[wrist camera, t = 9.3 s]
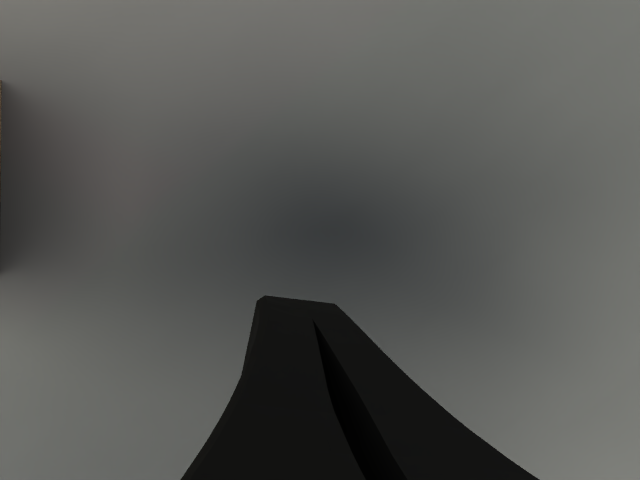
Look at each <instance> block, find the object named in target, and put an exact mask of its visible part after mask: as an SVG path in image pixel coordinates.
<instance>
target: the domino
mask: <svg viewBox="0 0 640 480" xmlns="http://www.w3.org/2000/svg"><path fill="white" fill-rule="evenodd" d="M1 82H2V80H0V200H1Z"/></svg>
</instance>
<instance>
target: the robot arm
mask: <svg viewBox="0 0 640 480" xmlns="http://www.w3.org/2000/svg"><path fill="white" fill-rule="evenodd" d="M181 480H539V479H538V478H536V477H534V476H533V475H531V474H530V473H529V472H527V471H526V470H524V469H523V468H521V467H520V466H518V465H517V464H515V463H514V462H513V461H511V460H510V459H508V458H507V457H506V456H504V455H503V454H502V453H500V452H499V451H497V450H496V449H495V448H493V447H492V446H491V445H489V444H488V443H487V442H485V441H484V440H483V439H481V438H480V437H479V436H477V435H476V434H475V433H473V432H472V431H471V430H469V429H468V428H467V427H466V426H464V425H463V424H462V423H461V422H460V421H458V420H457V419H456V418H455V417H453V416H452V415H451V414H450V413H449V412H448V411H446V410H445V409H444V408H443V407H442V406H441V405H439V404H438V403H437V402H436V401H435V400H434V399H433V398H431V397H430V396H429V395H428V394H427V393H426V392H425V391H423V390H422V389H421V388H420V387H419V386H418V385H417V384H416V383H415V382H414V381H413V380H412V379H410V378H409V377H408V376H407V375H406V374H405V373H404V372H403V371H402V370H401V369H400V368H399V367H398V366H397V365H396V364H395V363H394V362H393V361H392V360H391V359H390V358H389V357H388V356H387V355H386V354H385V353H384V352H383V351H382V350H381V349H380V348H379V347H378V346H377V345H376V344H375V343H374V342H373V341H372V340H371V339H370V338H369V337H368V336H367V335H366V334H365V333H364V332H363V331H362V330H361V329H360V328H359V327H358V326H357V325H356V324H355V323H354V322H353V321H352V320H351V319H350V318H349V317H348V316H347V315H346V314H345V313H344V312H343V311H342V310H341V309H340V308H339V307H338V306H337V305H335V304H332V303H323V302H315V301H306V300H298V299H289V298H281V297H272V296H264V297H262V298H260V299H259V300H257V303H256V308H255V313H254V317H253V322H252V327H251V332H250V337H249V341H248V346H247V351H246V356H245V361H244V365H243V370H242V375H241V378H240V380H239V382H238V384H237V386H236V389H235V391H234V393H233V395H232V397H231V399H230V401H229V403H228V405H227V407H226V409H225V411H224V412H223V414H222V416H221V418H220V420H219V421H218V423H217V425H216V426H215V428H214V430H213V431H212V433H211V435H210V437H209V438H208V440H207V441H206V443H205V444H204V446H203V447H202V449H201V450H200V452H199V453H198V455H197V456H196V458H195V459H194V461H193V462H192V464H191V465H190V467H189V468H188V470H187V471H186V473H185V474H184V476H183V477H182V478H181Z"/></svg>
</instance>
